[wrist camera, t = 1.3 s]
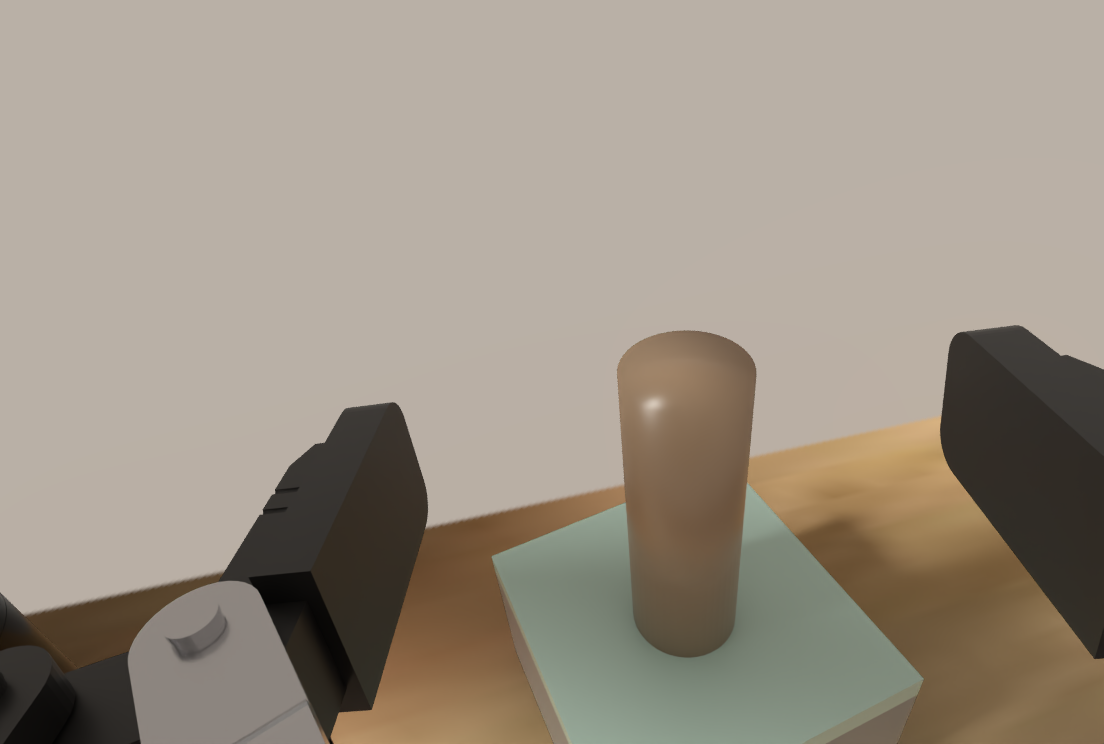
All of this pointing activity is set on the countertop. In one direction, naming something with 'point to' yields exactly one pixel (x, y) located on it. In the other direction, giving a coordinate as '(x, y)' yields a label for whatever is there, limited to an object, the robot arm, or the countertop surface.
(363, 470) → the robot arm
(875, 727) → the storage box
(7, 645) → the supplement bottle
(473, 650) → the countertop surface
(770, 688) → the peg on green base
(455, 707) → the countertop surface
